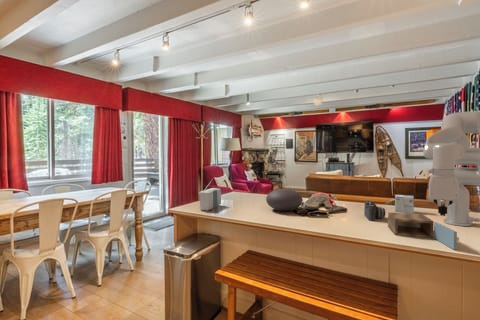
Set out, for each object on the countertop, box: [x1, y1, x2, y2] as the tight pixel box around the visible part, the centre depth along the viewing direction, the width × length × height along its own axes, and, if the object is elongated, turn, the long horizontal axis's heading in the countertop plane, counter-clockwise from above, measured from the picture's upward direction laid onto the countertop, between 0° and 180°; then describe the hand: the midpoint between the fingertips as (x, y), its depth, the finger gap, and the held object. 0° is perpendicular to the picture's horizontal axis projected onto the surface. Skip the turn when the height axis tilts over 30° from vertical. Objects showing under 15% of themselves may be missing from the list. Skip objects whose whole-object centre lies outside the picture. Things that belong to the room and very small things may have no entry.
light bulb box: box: [394, 194, 415, 214], centre depth 177 cm, size 11×7×11 cm, turn 58°
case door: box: [433, 221, 460, 251], centre depth 117 cm, size 15×2×7 cm, turn 170°
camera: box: [363, 200, 386, 222], centre depth 161 cm, size 14×11×10 cm
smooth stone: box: [265, 188, 304, 212], centre depth 183 cm, size 25×25×15 cm
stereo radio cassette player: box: [198, 178, 222, 212], centre depth 192 cm, size 21×8×20 cm, turn 159°
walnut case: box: [387, 212, 435, 239], centre depth 134 cm, size 16×14×8 cm
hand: (442, 215), depth 114 cm, fingers closed
